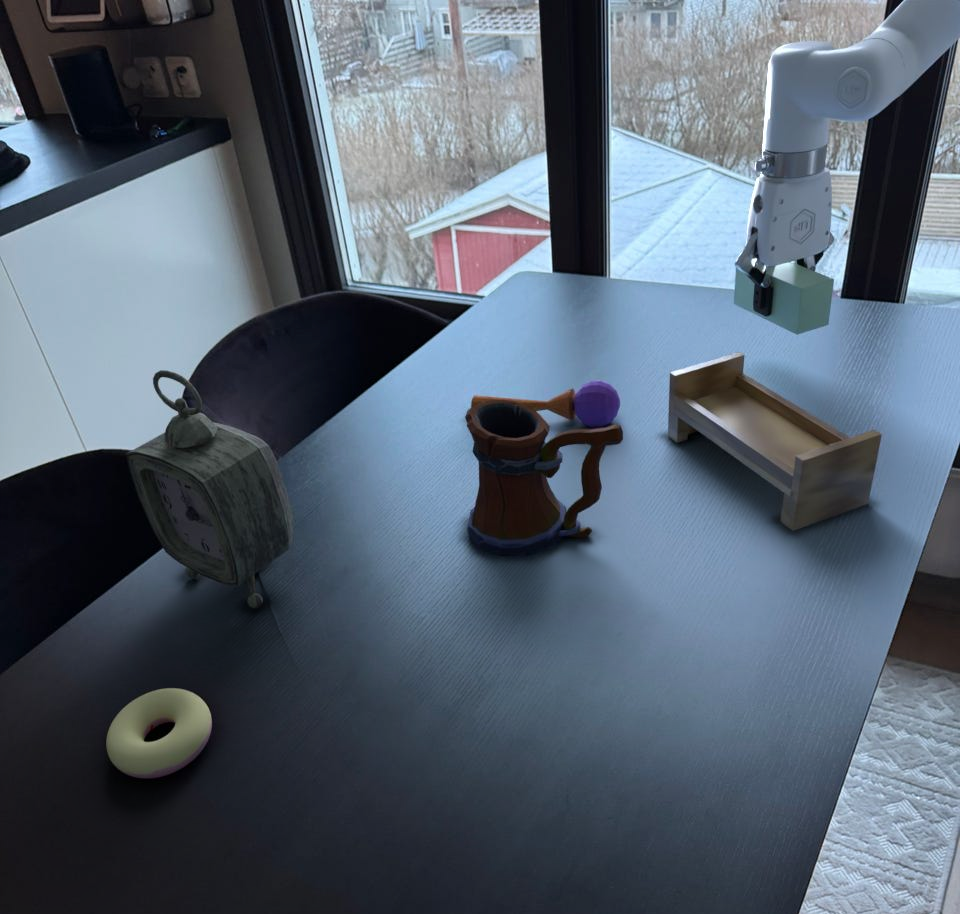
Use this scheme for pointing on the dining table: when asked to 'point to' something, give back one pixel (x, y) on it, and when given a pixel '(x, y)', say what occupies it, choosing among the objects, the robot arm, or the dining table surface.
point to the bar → (791, 297)
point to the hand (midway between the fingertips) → (780, 306)
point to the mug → (527, 478)
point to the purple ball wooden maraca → (575, 403)
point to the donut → (167, 751)
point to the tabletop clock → (212, 495)
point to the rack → (774, 439)
